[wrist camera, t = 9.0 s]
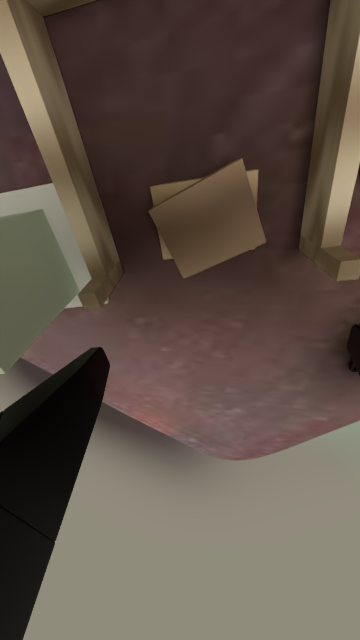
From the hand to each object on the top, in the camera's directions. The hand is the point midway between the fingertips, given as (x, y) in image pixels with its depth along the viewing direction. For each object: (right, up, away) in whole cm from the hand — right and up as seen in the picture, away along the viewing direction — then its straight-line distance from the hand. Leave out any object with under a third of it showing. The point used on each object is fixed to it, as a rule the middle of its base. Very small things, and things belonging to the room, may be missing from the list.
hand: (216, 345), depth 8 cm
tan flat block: (+1, +8, +8) cm, 11 cm away
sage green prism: (-13, +6, +11) cm, 18 cm away
